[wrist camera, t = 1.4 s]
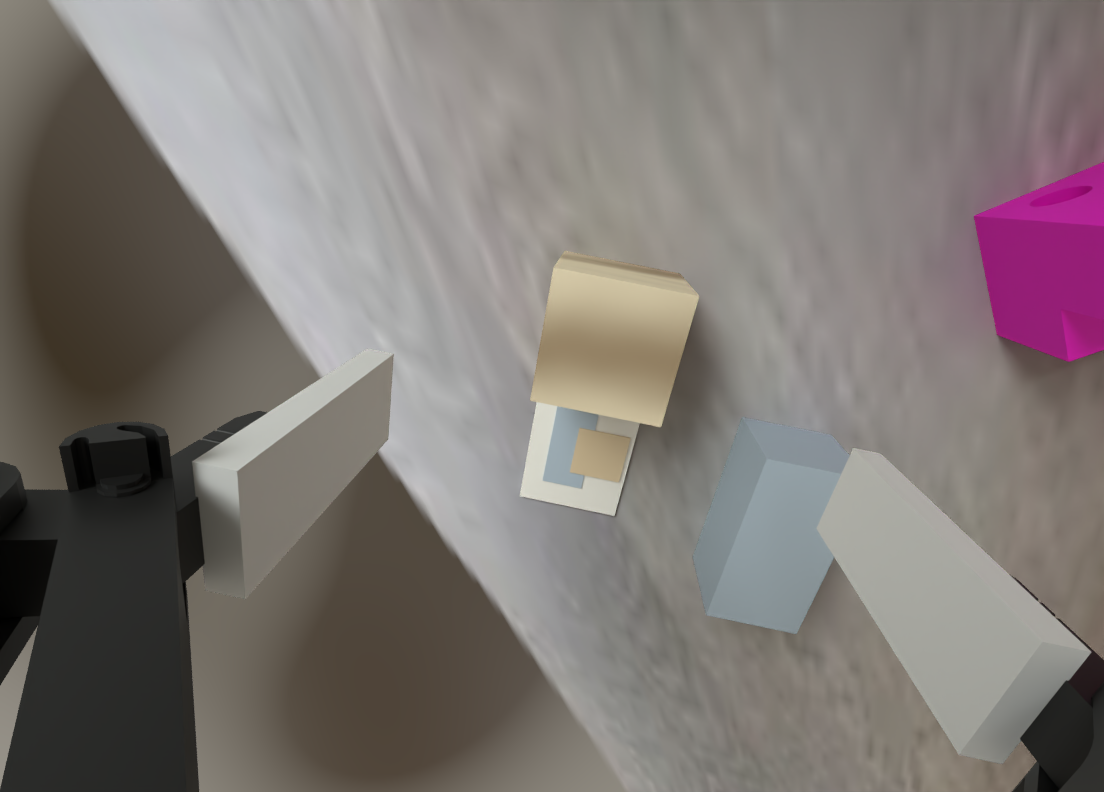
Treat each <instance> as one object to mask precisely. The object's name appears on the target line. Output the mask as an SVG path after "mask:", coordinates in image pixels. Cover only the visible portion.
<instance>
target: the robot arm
mask: <svg viewBox="0 0 1104 792" xmlns="http://www.w3.org/2000/svg"><path fill="white" fill-rule="evenodd" d="M393 355H394V354H391V353H386V352H381V351H376V350H371V349H366V350H365V351H363V352H361V353H360V354H358V355H357V356H355V357H354V358H352V359H351V360H349V361H347V362H346V363H344V364H343V365H341V366H340V367H338V368H337V369H335V370H334V371H332V372H330V373H329V374H327V375H326V376H324V377H323V378H321V379H320V380H318V381H316V382H315V383H313V384H312V385H310V386H309V387H307V388H306V389H304V390H303V391H301V392H299V393H298V394H296V395H295V396H293V397H292V398H290V399H288V400H287V401H285V402H284V403H282V404H281V405H279V406H278V407H276V408H275V409H273V410H271V411H270V412H268V413H266V412H262V411H257V412H253V413H250V414H247V415H244V416H241V417H237V418H234V419H233V420H231V421H230V422H228V423H226V424H224V425H223V426H221V427H219V428H218V429H217V431H213V432H211V433H209V434H208V435H206V436H204V437H203V439H202V440H198V441H196V442H194V443H193V444H191V445H189V446H188V447H186V448H185V449H183V450H181V451H179V452H178V453H176V454H175V455H173V456H170V448H169V440H168V435H167V433H166V431H165V430H164V429H163V428H161V427H159V426H156V425H154V424H149V423H141V422H117V423H110V424H104V425H98V426H94V427H91V428H87V429H84V430H81V431H78V432H77V433H75V434H73V435H71V436H69V437H67V438H66V439H65V440H64V441H63V442H62V443H61V445H60V446H59V449H60V454H61V458H62V463H63V467H64V472H65V477H66V482H67V486H68V490H25V489H24V486H23V482H22V478H21V474H20V472H19V470H18V469H17V468H16V466H13V465H10V464H7V463H4V462H0V685H1V683H2V682H3V680H4V678H5V677H6V675H7V674H8V672H9V670H10V669H11V667H12V666H13V664H14V662H15V661H16V659H17V658H18V656H19V654H20V653H21V651H22V650H23V648H24V647H25V645H26V643H27V642H28V640H29V638H30V637H31V635H32V634H33V632H34V631H35V629H36V627H37V626H38V628H37V632H36V636H35V641H34V645H33V650H32V654H31V658H30V662H29V667H28V672H27V675H26V680H25V684H24V689H23V693H22V698H21V702H20V706H19V710H18V715H17V719H16V723H15V728H14V732H13V736H12V740H11V745H10V749H9V753H8V758H7V762H6V766H5V771H4V775H3V779H2V784H1V788H0V792H199V780H198V763H197V748H196V731H195V716H194V699H193V681H192V665H191V649H190V632H189V616H188V600H187V590H186V580H187V579H189V577H190V576H192V575H193V574H194V573H195V572H196V571H197V570H198V569H199V568H200V567H201V566H203V572H204V583H205V590H206V591H210V592H215V593H219V594H224V595H229V596H233V597H238V598H242V599H246V598H247V597H248V596H249V595H250V593H251V592H252V591H253V590H254V589H255V587H257V586H258V585H259V583H260V582H261V581H262V580H263V579H264V578H265V577H266V576H267V574H268V573H269V572H270V571H271V570H272V569H273V568H274V566H275V565H276V564H277V563H278V562H279V561H280V560H281V559H282V558H283V557H284V555H285V554H286V553H287V552H288V551H289V550H290V549H291V548H292V546H293V545H294V544H295V543H296V542H297V541H298V540H299V538H300V537H301V536H302V535H303V534H304V533H305V532H306V531H307V530H308V529H309V527H310V526H311V525H312V524H313V523H314V522H315V521H316V520H317V518H318V517H319V516H320V515H321V514H322V513H323V512H324V510H325V509H326V508H327V507H328V506H329V505H330V504H331V503H332V502H333V501H334V499H335V498H336V497H337V496H338V495H339V494H340V493H341V492H342V490H343V489H344V488H345V487H346V486H347V485H348V484H349V483H350V481H351V480H352V479H353V478H354V477H355V476H356V475H357V474H358V472H359V471H360V470H361V469H362V468H363V467H364V466H365V464H366V463H367V462H368V461H369V460H370V459H371V458H372V457H373V456H374V455H375V453H376V452H377V451H378V450H379V449H380V448H381V447H382V446H383V444H384V443H385V442H386V441H387V440H388V434H389V418H390V402H391V387H392V371H393ZM816 529H817V531H818V532H819V534H820V535H821V537H822V539H823V540H824V542H825V543H826V545H827V546H828V548H829V550H830V551H831V553H832V554H833V556H834V558H835V559H836V561H837V562H838V564H839V565H840V567H841V569H842V570H843V572H844V573H845V575H846V577H847V578H848V580H849V581H850V583H851V584H852V586H853V588H854V589H855V591H856V592H857V594H858V596H859V597H860V599H861V600H862V602H863V604H864V605H865V607H866V608H867V610H868V611H869V613H870V615H871V616H872V618H873V619H874V621H875V623H876V624H877V626H878V627H879V629H880V630H881V632H882V634H883V635H884V637H885V638H886V640H887V642H888V643H889V645H890V646H891V648H892V650H893V651H894V653H895V654H896V656H897V657H898V659H899V661H900V662H901V664H902V665H903V667H904V669H905V670H906V672H907V673H908V675H909V676H910V678H911V680H912V681H913V683H914V684H915V686H916V688H917V689H918V691H919V692H920V694H921V695H922V697H923V699H924V700H925V702H926V703H927V705H928V707H929V708H930V710H931V711H932V713H933V715H934V716H935V718H936V719H937V721H938V722H939V724H940V726H941V727H942V729H943V730H944V732H945V734H946V735H947V737H948V738H949V740H950V741H951V743H952V745H953V746H954V748H955V749H956V751H957V753H958V754H959V755H962V756H966V757H971V758H976V759H980V760H985V761H989V762H994V763H999V764H1003V763H1004V761H1005V760H1006V759H1007V758H1008V756H1009V755H1010V754H1011V753H1012V751H1013V750H1014V749H1015V748H1016V746H1017V745H1018V744H1019V743H1020V741H1022V742H1023V743H1024V745H1025V746H1026V747H1027V748H1028V750H1029V751H1030V752H1031V754H1032V755H1033V756H1034V758H1035V759H1036V760H1037V762H1036V763H1035V765H1034V766H1033V767H1032V768H1031V769H1030V771H1029V772H1028V773H1027V774H1026V775H1025V777H1024V778H1023V779H1022V780H1021V781H1020V783H1019V784H1018V785H1017V786H1016V787H1015V789H1014V790H1013V791H1012V792H1104V660H1103V659H1102V658H1101V657H1100V656H1099V655H1098V654H1096V653H1095V652H1094V651H1093V650H1092V649H1091V648H1090V647H1089V646H1088V645H1087V644H1086V643H1085V642H1084V641H1083V640H1081V639H1080V638H1079V637H1078V636H1077V635H1076V634H1075V633H1074V632H1073V631H1072V630H1071V629H1070V628H1069V627H1068V626H1066V625H1065V624H1064V623H1063V622H1062V621H1061V620H1060V619H1057V618H1055V614H1054V613H1053V612H1051V611H1050V610H1049V609H1048V608H1047V607H1046V606H1045V605H1044V604H1043V603H1040V602H1038V598H1037V597H1035V596H1034V595H1033V594H1032V593H1031V592H1030V591H1029V590H1028V589H1027V588H1026V587H1025V586H1024V585H1023V584H1022V583H1020V582H1019V581H1018V580H1017V579H1016V578H1014V577H1013V576H1011V575H1010V574H1008V573H1007V572H1006V571H1005V570H1004V569H1003V568H1002V567H1001V566H1000V565H999V564H997V563H996V562H995V561H994V560H993V559H992V558H991V557H990V556H989V555H988V554H987V553H986V552H985V551H984V550H983V549H982V548H980V547H979V546H978V545H977V544H976V543H975V542H974V541H973V540H972V539H971V538H970V537H969V536H968V535H967V534H966V533H965V532H963V531H962V530H961V529H960V528H959V527H958V526H957V525H956V524H955V523H954V522H953V521H952V520H951V519H950V518H949V517H948V516H946V515H945V514H944V513H943V512H942V511H941V510H940V509H939V508H938V507H937V506H936V505H935V504H934V503H933V502H932V501H931V500H929V499H928V498H927V497H926V496H925V495H924V494H923V493H922V492H921V491H920V490H919V489H918V488H917V487H916V486H915V485H914V484H912V483H911V482H910V481H909V480H908V479H907V478H906V477H905V476H904V475H903V474H902V473H901V472H900V471H899V470H898V469H897V468H895V467H894V466H893V465H892V464H891V463H890V462H889V461H888V460H887V459H886V458H885V457H884V456H883V455H882V454H880V453H875V452H871V451H866V450H861V449H856V448H853V449H852V452H851V454H850V456H849V458H848V460H847V463H846V465H845V467H844V469H843V471H842V473H841V476H840V478H839V480H838V482H837V484H836V487H835V489H834V491H833V493H832V495H831V497H830V500H829V502H828V504H827V506H826V508H825V511H824V513H823V515H822V517H821V519H820V522H819V524H818V526H817V528H816Z"/></svg>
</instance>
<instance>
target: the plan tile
mask: <svg viewBox="0 0 1104 792" xmlns="http://www.w3.org/2000/svg"><path fill="white" fill-rule="evenodd" d="M639 424H640V423H637V422H632V421H628V420H623V419H618V418H613V417H608V416H603V415H598V414H593V413H588V412H584V411H579V410H574V409H569V408H564V407H559V406H554V405H549V404H544V403H540V402H537V404H536V410H535V415H534V420H533V426H532V431H531V437H530V442H529V448H528V453H527V459H526V464H525V470H524V475H523V481H522V486H521V492H520V496H522V497H527V498H531V499H536V500H541V501H546V502H550V503H555V504H560V505H565V506H569V507H574V508H579V509H584V510H589V511H593V512H598V513H603V514H608V515H612V516H615V512H616V508H617V505H618V501H619V498H620V494H621V490H622V487H623V483H624V479H625V476H626V472H627V468H628V465H629V461H630V457H631V454H632V450H633V446H634V443H635V439H636V435H637V432H638V428H639Z"/></svg>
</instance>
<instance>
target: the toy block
mask: <svg viewBox="0 0 1104 792" xmlns="http://www.w3.org/2000/svg"><path fill="white" fill-rule="evenodd" d="M974 220H975V225H976V230H977V235H978V240H979V245H980V250H981V255H982V260H983V265H984V271H985V276H986V281H987V286H988V291H989V296H990V301H991V306H992V311H993V317H994V322H995V327H996V332H997V335H999V336H1001V337H1004V338H1007V339H1009V340H1012V341H1015V342H1017V343H1020V344H1023V345H1025V346H1028V347H1031V348H1033V349H1036V350H1038V351H1041V352H1044V353H1046V354H1049V355H1052V356H1054V357H1057V358H1060V359H1062V360H1065V361H1068V362H1070V361H1073V360H1076V359H1079V358H1082V357H1084V356H1087V355H1090V354H1093V353H1096V352H1099V351H1102V350H1104V162H1102V163H1100V164H1098V165H1095V166H1093V167H1090V168H1088V169H1086V170H1083V171H1081V172H1078V173H1076V174H1074V175H1071V176H1069V177H1066V178H1064V179H1062V180H1059V181H1057V182H1054V183H1052V184H1050V185H1047V186H1045V187H1042V188H1040V189H1038V190H1035V191H1033V192H1030V193H1028V194H1026V195H1023V196H1021V197H1018V198H1016V199H1014V200H1011V201H1009V202H1006V203H1004V204H1001V205H999V206H997V207H994V208H992V209H989V210H987V211H985V212H982V213H980V214H977V215H975V216H974Z"/></svg>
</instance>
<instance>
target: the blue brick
mask: <svg viewBox="0 0 1104 792" xmlns="http://www.w3.org/2000/svg"><path fill="white" fill-rule="evenodd" d="M849 456H850V455H849V454H848V453H847V452H846V451H845V450H844V449H843V448H842V446H841V445H840V444H839V443H838V442H837V441H836V440H835V439H834V438H833V436H832V435H830V434H825V433H820V432H815V431H810V430H805V429H800V428H795V427H790V426H785V425H780V424H775V423H770V422H765V421H760V420H755V419H749V418H744V417H742V419H741V422H740V425H739V428H738V430H737V433H736V436H735V439H734V442H733V444H732V447H731V450H730V453H729V456H728V459H727V461H726V464H725V467H724V470H723V473H722V476H721V478H720V481H719V484H718V487H717V490H716V492H715V495H714V498H713V501H712V504H711V507H710V509H709V512H708V515H707V518H706V521H705V524H704V526H703V529H702V532H701V535H700V538H699V540H698V543H697V546H696V549H695V552H694V555H693V561H694V565H695V569H696V574H697V578H698V582H699V587H700V591H701V595H702V600H703V604H704V608H705V613H706V615H708V616H712V617H717V618H722V619H726V620H731V621H736V622H741V623H745V624H750V625H755V626H760V627H764V628H769V629H774V630H778V631H783V632H788V633H793V634H797V632H798V630H799V628H800V626H801V624H802V622H803V620H804V618H805V616H806V614H807V612H808V610H809V608H810V606H811V604H812V602H813V600H814V598H815V595H816V593H817V591H818V589H819V587H820V585H821V583H822V581H823V579H824V577H825V575H826V573H827V571H828V569H829V567H830V565H831V563H832V561H833V559H834V556H833V554H832V553H831V551H830V550H829V548H828V546H827V545H826V543H825V542H824V540H823V539H822V537H821V535H820V534H819V532H818V531H817V529H816V528H817V526H818V524H819V522H820V519H821V517H822V515H823V513H824V511H825V508H826V506H827V504H828V502H829V500H830V497H831V495H832V493H833V491H834V489H835V487H836V484H837V482H838V480H839V478H840V476H841V473H842V471H843V469H844V467H845V465H846V463H847V460H848V458H849Z"/></svg>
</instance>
